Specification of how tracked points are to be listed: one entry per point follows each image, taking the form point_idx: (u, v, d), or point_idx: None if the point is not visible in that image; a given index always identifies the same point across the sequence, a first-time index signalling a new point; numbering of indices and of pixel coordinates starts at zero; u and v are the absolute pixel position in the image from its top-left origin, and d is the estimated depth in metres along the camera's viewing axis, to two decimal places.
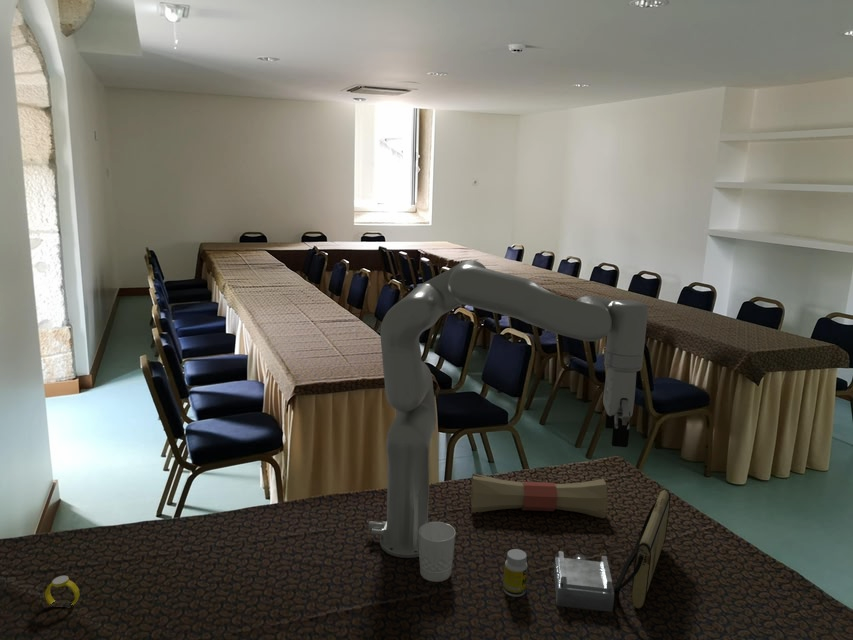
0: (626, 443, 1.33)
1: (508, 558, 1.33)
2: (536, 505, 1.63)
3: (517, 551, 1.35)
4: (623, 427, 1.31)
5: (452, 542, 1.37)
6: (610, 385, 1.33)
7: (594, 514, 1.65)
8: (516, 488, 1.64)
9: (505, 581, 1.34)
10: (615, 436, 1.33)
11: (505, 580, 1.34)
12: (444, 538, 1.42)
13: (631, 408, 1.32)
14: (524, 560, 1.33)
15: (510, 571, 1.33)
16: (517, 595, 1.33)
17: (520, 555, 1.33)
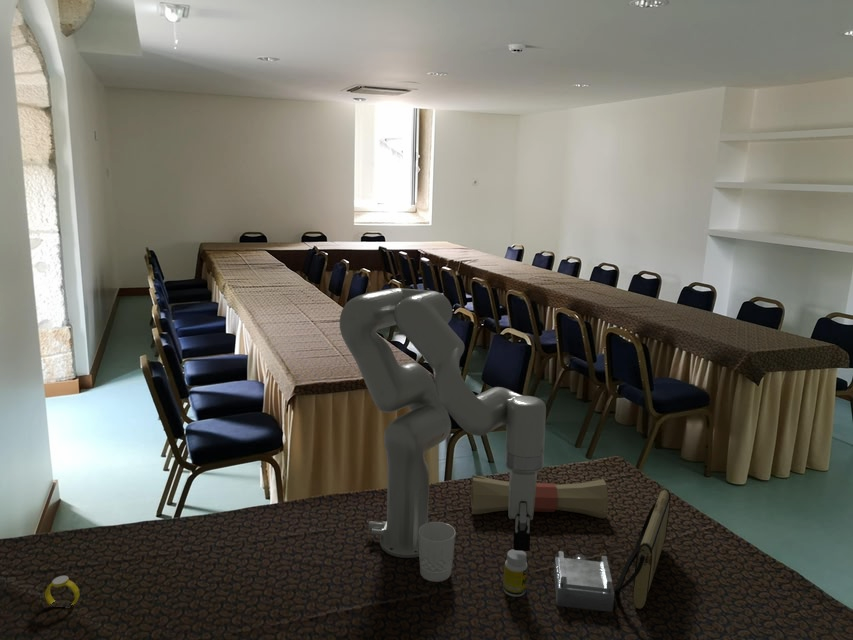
0: (528, 547, 1.27)
1: (508, 558, 1.33)
2: (537, 506, 1.62)
3: (517, 551, 1.35)
4: (522, 532, 1.25)
5: (452, 542, 1.37)
6: (509, 486, 1.27)
7: (594, 514, 1.64)
8: None
9: (505, 581, 1.34)
10: (516, 540, 1.27)
11: (505, 580, 1.34)
12: (444, 538, 1.42)
13: (531, 511, 1.26)
14: (524, 560, 1.33)
15: (510, 571, 1.33)
16: (517, 595, 1.33)
17: (520, 555, 1.33)
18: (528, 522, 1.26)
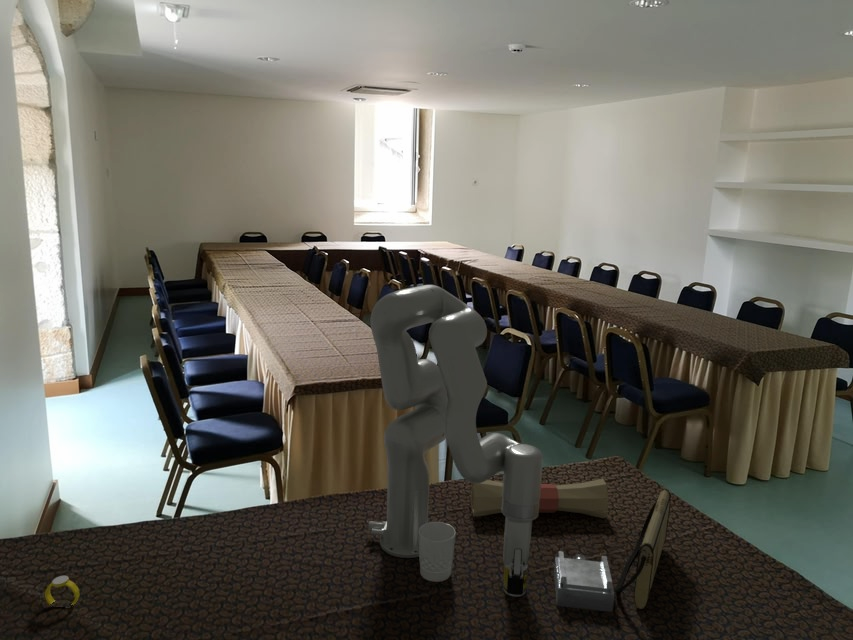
0: (521, 591, 1.32)
1: None
2: None
3: None
4: (516, 577, 1.30)
5: (452, 542, 1.37)
6: (505, 533, 1.30)
7: (595, 514, 1.65)
8: None
9: (505, 581, 1.34)
10: (510, 584, 1.32)
11: (505, 580, 1.34)
12: (444, 538, 1.42)
13: (525, 558, 1.28)
14: None
15: None
16: (517, 595, 1.33)
17: None
18: (522, 569, 1.30)
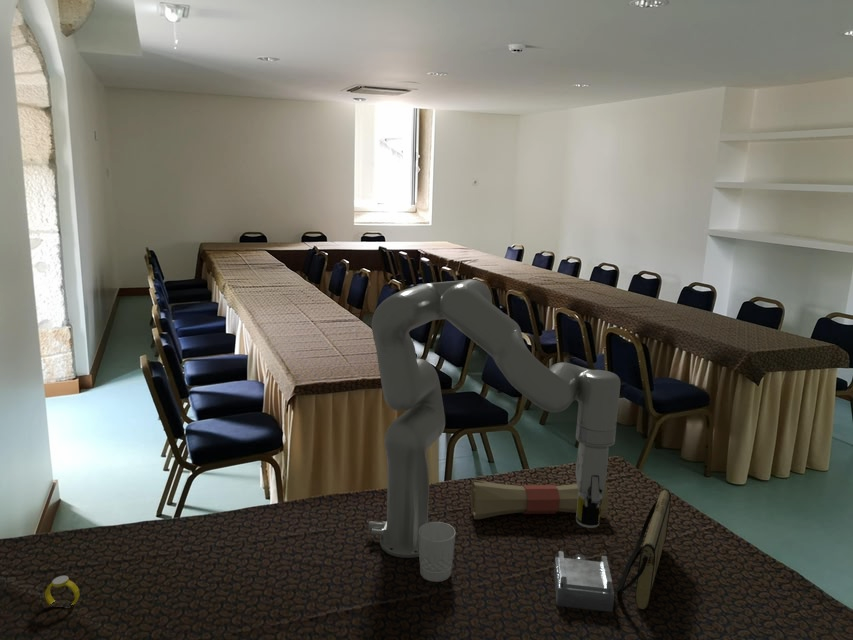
0: (596, 521, 1.29)
1: None
2: (539, 508, 1.61)
3: None
4: (592, 506, 1.27)
5: (452, 542, 1.37)
6: (581, 460, 1.26)
7: None
8: (518, 492, 1.62)
9: (579, 512, 1.31)
10: (585, 514, 1.29)
11: (579, 511, 1.31)
12: (444, 538, 1.42)
13: (603, 486, 1.25)
14: None
15: None
16: (592, 526, 1.30)
17: None
18: (598, 498, 1.27)
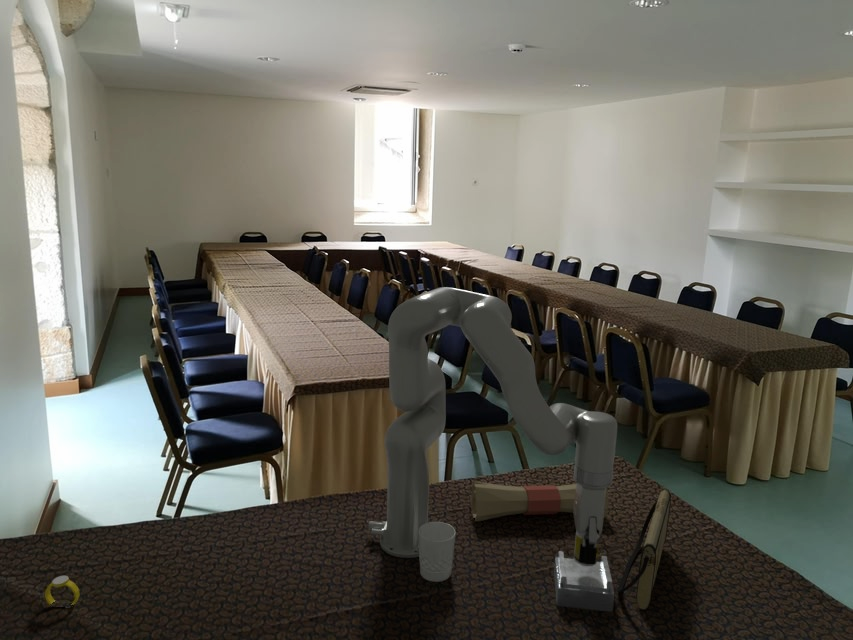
0: (594, 560, 1.31)
1: None
2: (540, 509, 1.61)
3: None
4: (590, 546, 1.28)
5: (452, 542, 1.37)
6: (579, 501, 1.28)
7: None
8: (519, 493, 1.61)
9: (577, 551, 1.33)
10: (582, 553, 1.31)
11: (577, 550, 1.33)
12: (444, 538, 1.42)
13: (600, 526, 1.27)
14: None
15: None
16: (589, 565, 1.32)
17: None
18: (595, 538, 1.29)
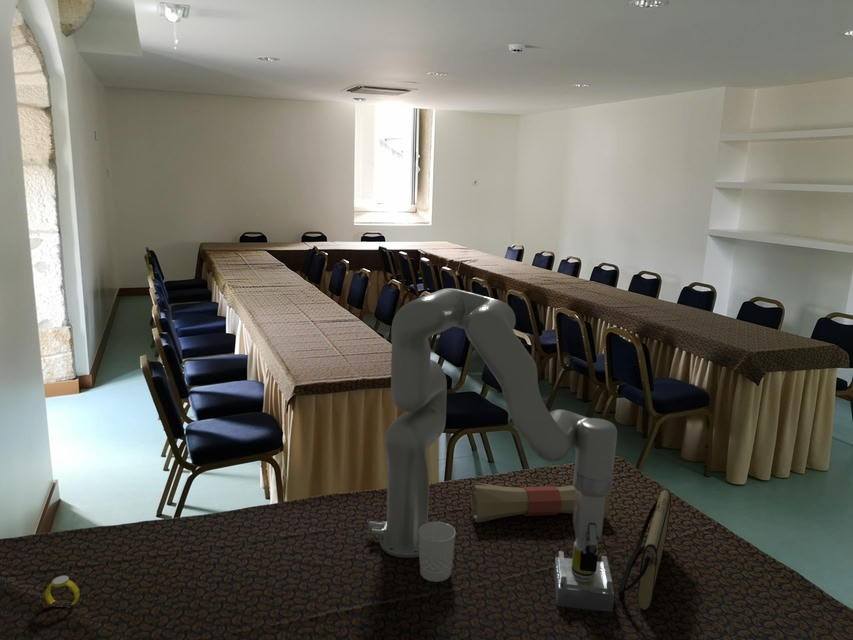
0: (594, 568, 1.29)
1: (578, 540, 1.33)
2: (541, 510, 1.60)
3: None
4: (591, 553, 1.27)
5: (452, 542, 1.37)
6: (578, 508, 1.29)
7: None
8: (520, 494, 1.61)
9: (574, 562, 1.34)
10: (583, 560, 1.29)
11: (574, 561, 1.34)
12: (444, 538, 1.42)
13: (599, 533, 1.27)
14: None
15: (580, 552, 1.32)
16: (587, 576, 1.33)
17: None
18: None
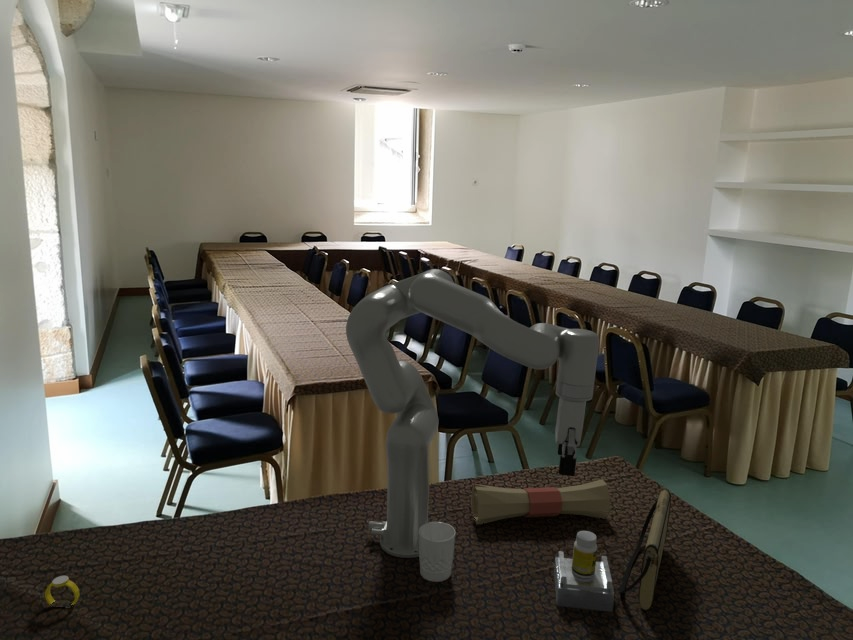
0: (573, 472, 1.33)
1: (578, 540, 1.33)
2: (542, 511, 1.60)
3: (586, 532, 1.34)
4: (569, 456, 1.31)
5: (452, 542, 1.37)
6: (559, 413, 1.33)
7: (596, 515, 1.64)
8: (520, 496, 1.60)
9: (574, 563, 1.34)
10: (562, 465, 1.33)
11: (574, 562, 1.34)
12: (444, 538, 1.42)
13: (578, 438, 1.32)
14: (594, 541, 1.32)
15: (580, 553, 1.32)
16: (587, 577, 1.33)
17: (590, 537, 1.33)
18: (575, 448, 1.32)
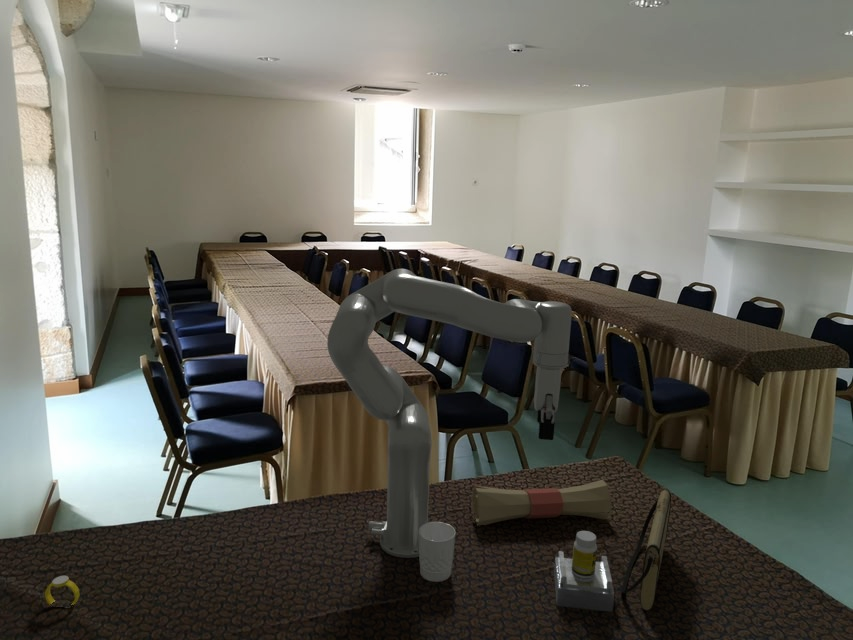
0: (552, 436, 1.42)
1: (578, 540, 1.33)
2: (542, 513, 1.59)
3: (585, 532, 1.34)
4: (548, 421, 1.40)
5: (452, 542, 1.37)
6: (537, 381, 1.42)
7: (597, 516, 1.64)
8: (521, 497, 1.60)
9: (574, 563, 1.34)
10: (541, 429, 1.42)
11: (574, 562, 1.34)
12: (444, 538, 1.42)
13: (556, 403, 1.40)
14: (594, 541, 1.32)
15: (580, 553, 1.32)
16: (587, 577, 1.33)
17: (590, 537, 1.33)
18: (553, 413, 1.41)
